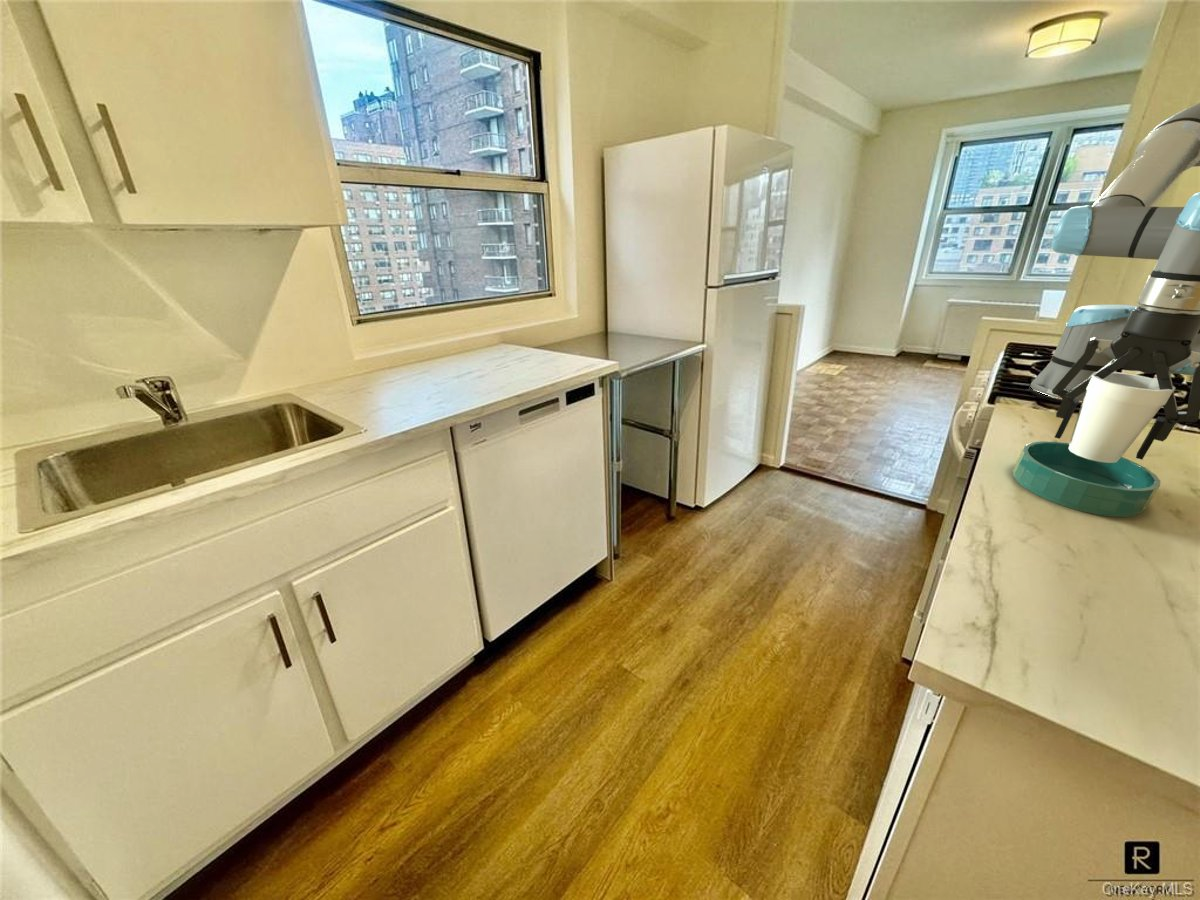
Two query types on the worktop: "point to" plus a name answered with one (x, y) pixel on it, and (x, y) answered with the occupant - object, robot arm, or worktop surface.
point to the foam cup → (1115, 414)
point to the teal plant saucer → (1085, 480)
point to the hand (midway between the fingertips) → (1097, 445)
